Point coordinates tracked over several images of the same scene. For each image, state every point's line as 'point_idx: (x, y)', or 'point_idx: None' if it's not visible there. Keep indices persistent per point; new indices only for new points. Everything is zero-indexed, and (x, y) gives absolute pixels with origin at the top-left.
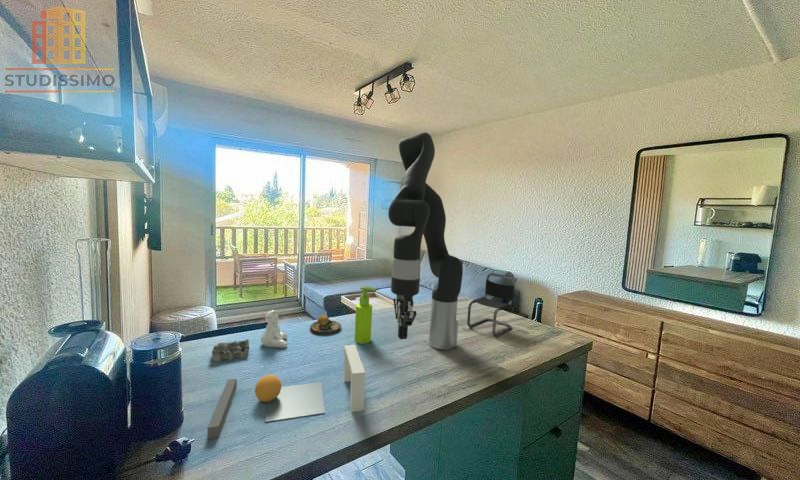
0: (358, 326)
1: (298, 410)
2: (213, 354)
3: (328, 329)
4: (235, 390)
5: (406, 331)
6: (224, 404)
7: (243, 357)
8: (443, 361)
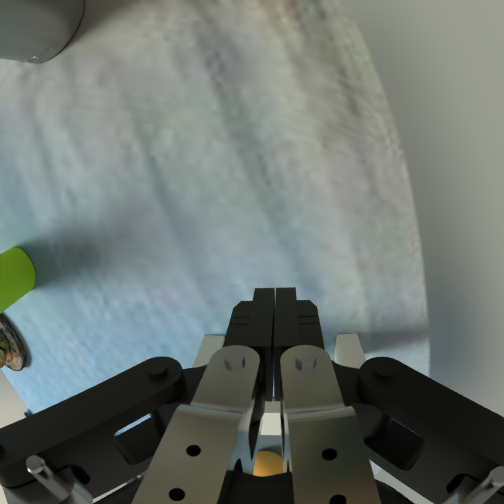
0: (4, 309)
1: None
2: None
3: (5, 336)
4: None
5: (319, 332)
6: None
7: None
8: (144, 25)
